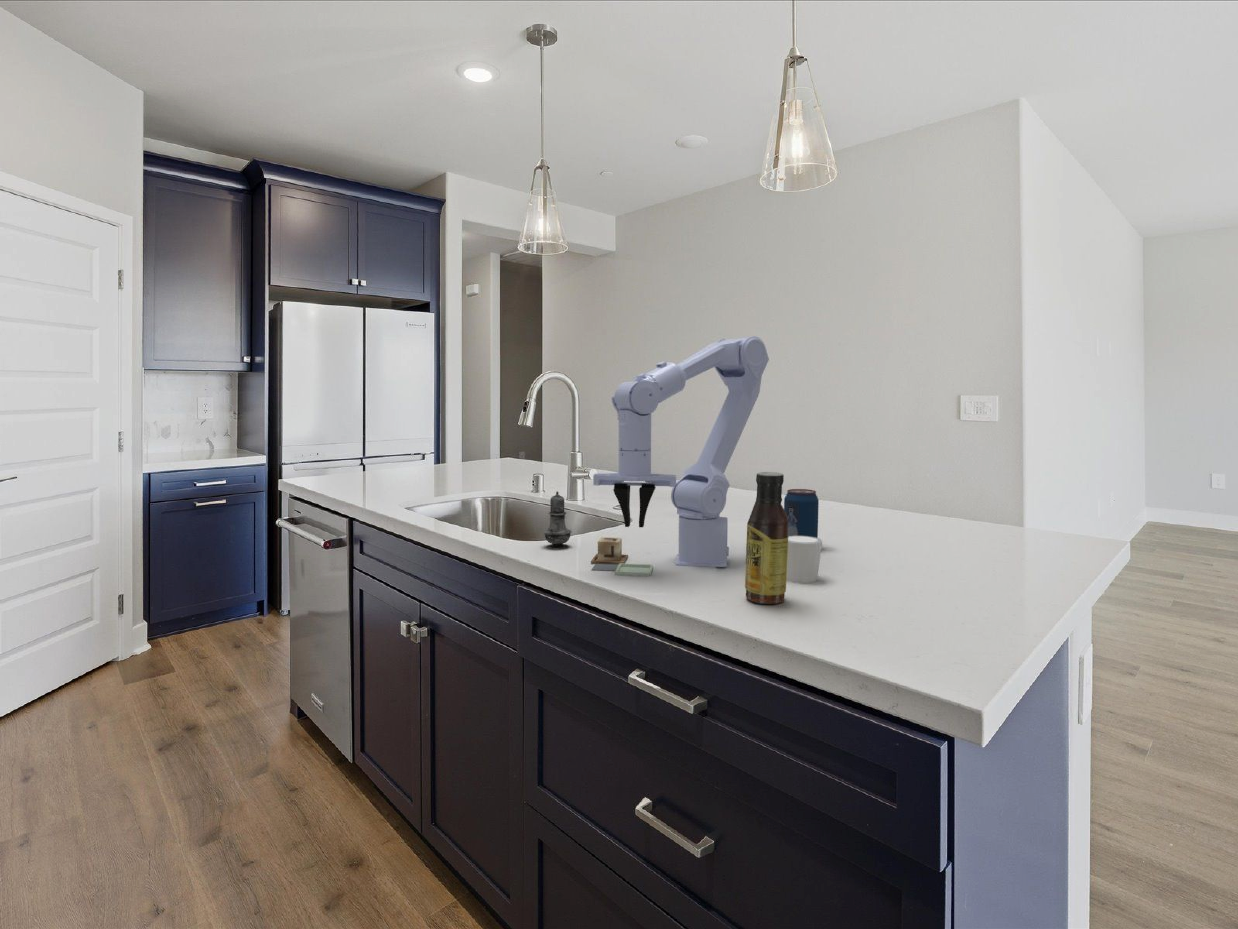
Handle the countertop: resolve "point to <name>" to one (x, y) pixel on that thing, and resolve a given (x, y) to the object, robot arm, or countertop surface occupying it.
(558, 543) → the salt shaker
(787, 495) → the soda can
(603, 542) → the letter cube
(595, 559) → the walnut dish
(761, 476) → the sauce bottle
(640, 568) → the stoneware dish
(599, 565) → the slate mat
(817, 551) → the white tapered cylinder
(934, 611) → the countertop surface
